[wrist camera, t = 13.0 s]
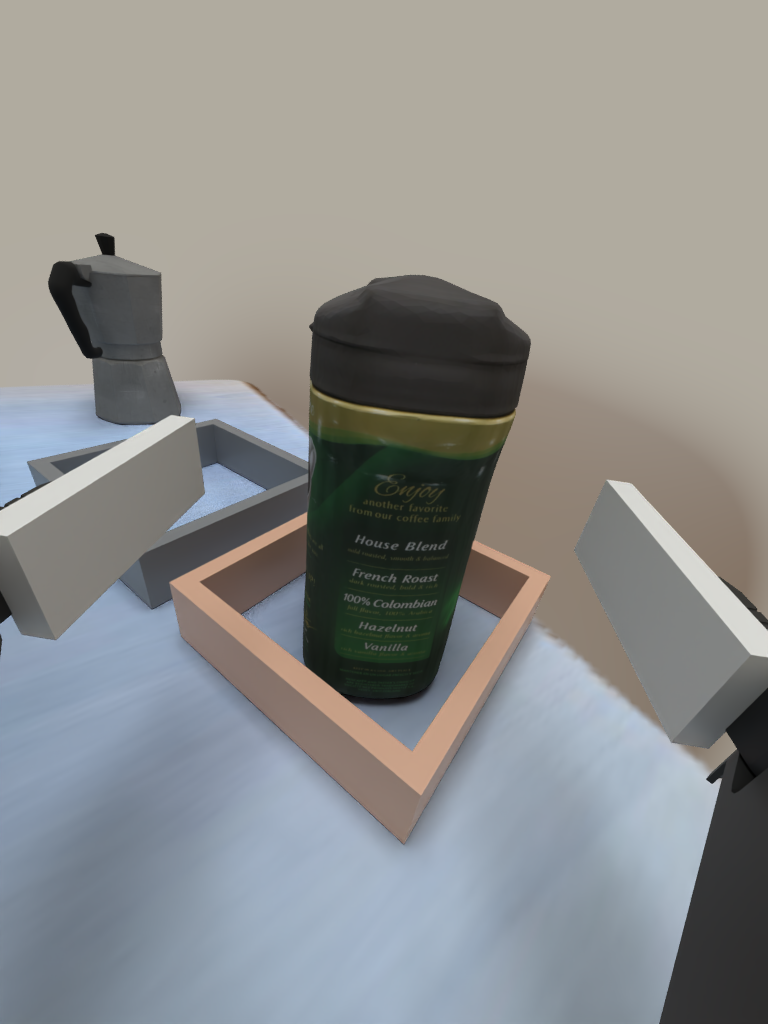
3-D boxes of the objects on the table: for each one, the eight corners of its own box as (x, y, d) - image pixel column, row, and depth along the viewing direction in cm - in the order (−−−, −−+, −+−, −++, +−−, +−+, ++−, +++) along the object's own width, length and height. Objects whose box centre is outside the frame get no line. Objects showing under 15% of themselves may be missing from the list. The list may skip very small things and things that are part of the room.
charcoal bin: (45, 509, 30) (26, 461, 28) (220, 456, 41) (216, 418, 39) (152, 609, 24) (137, 555, 21) (327, 514, 34) (329, 472, 32)
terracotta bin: (181, 636, 22) (169, 582, 20) (354, 528, 33) (358, 485, 31) (404, 844, 15) (421, 795, 13) (530, 622, 26) (551, 576, 24)
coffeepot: (132, 392, 54) (97, 231, 45) (202, 400, 55) (183, 242, 45) (48, 433, 41) (-26, 218, 32) (142, 444, 41) (96, 234, 32)
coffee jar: (449, 712, 20) (592, 301, 10) (291, 702, 20) (286, 259, 10) (429, 582, 28) (498, 283, 19) (317, 572, 28) (328, 260, 18)
